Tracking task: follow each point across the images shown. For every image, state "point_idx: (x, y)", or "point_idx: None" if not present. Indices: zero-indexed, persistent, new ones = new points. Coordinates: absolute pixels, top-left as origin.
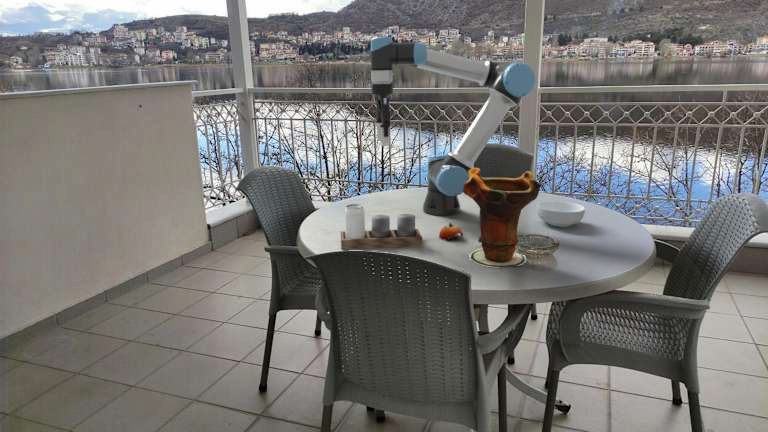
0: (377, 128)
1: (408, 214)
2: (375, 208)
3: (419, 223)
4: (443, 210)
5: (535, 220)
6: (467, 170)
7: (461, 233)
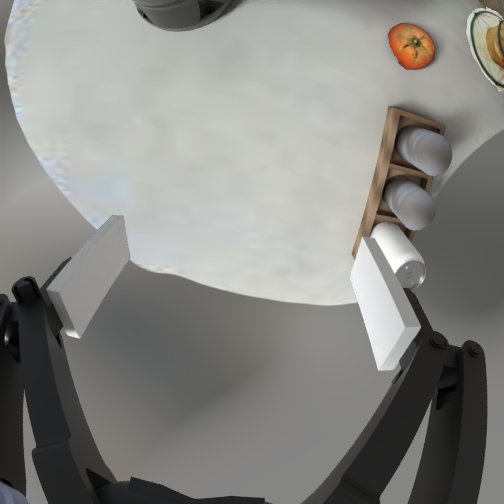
0: (96, 307)
1: (425, 143)
2: (134, 146)
3: (290, 63)
4: None
5: None
6: None
7: (429, 35)
